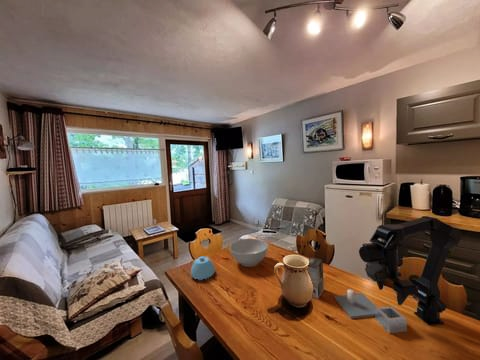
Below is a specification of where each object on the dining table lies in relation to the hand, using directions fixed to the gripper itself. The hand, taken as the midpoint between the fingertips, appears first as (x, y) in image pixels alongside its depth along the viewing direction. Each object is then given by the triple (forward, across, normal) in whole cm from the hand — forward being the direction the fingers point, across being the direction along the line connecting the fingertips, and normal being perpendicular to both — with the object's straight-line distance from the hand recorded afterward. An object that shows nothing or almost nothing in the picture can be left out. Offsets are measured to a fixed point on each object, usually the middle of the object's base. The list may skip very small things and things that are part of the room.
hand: (389, 296), depth 77 cm
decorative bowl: (+11, -61, -50) cm, 80 cm away
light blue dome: (+11, -51, -81) cm, 96 cm away
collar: (+12, 0, 0) cm, 12 cm away
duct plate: (+12, -11, -6) cm, 17 cm away
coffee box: (+12, -24, -20) cm, 33 cm away
